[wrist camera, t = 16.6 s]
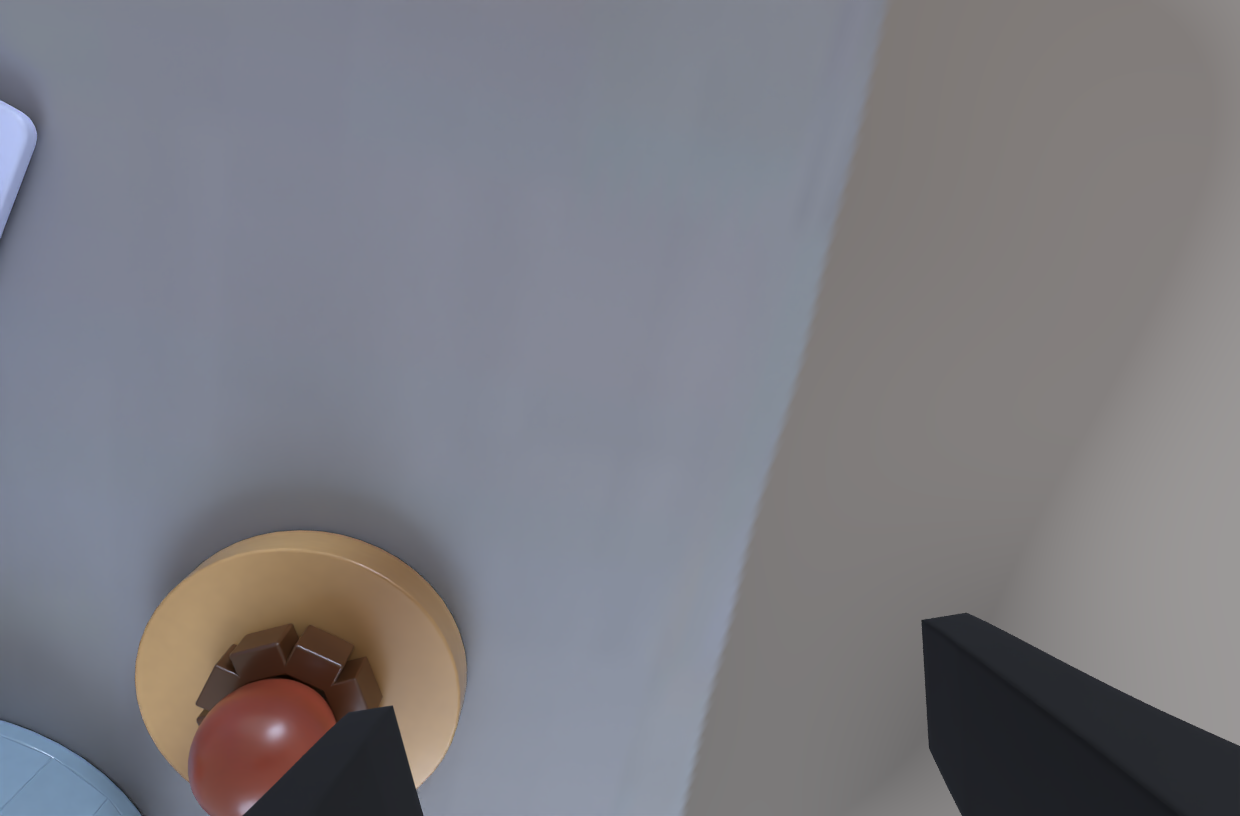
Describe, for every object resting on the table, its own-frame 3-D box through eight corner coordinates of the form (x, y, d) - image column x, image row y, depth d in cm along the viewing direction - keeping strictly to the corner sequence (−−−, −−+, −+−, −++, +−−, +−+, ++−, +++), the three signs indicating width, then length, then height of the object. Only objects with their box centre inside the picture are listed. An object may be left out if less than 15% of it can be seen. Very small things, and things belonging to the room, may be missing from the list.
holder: (113, 720, 21) (58, 778, 19) (232, 474, 19) (188, 507, 17) (386, 836, 22) (365, 902, 20) (521, 615, 20) (512, 662, 18)
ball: (248, 770, 19) (186, 875, 16) (210, 665, 19) (136, 754, 16) (369, 746, 20) (330, 847, 16) (335, 641, 19) (287, 725, 16)
